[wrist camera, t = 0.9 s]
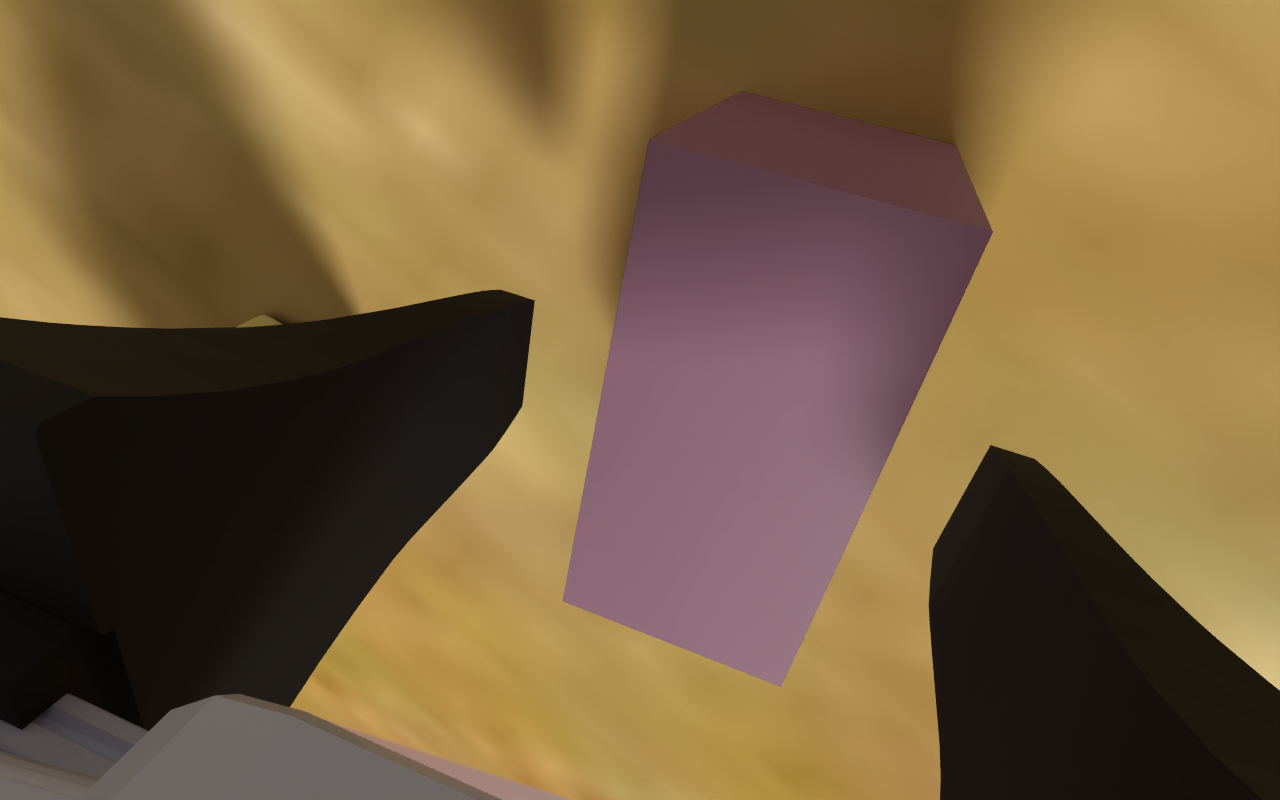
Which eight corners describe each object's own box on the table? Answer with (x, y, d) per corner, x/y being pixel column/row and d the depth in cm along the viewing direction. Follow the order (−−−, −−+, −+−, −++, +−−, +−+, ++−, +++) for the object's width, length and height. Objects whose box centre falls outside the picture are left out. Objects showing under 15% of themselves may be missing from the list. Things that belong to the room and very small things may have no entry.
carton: (963, 146, 13) (1006, 235, 8) (821, 488, 17) (789, 689, 12) (741, 91, 13) (649, 139, 8) (657, 432, 18) (562, 601, 13)
